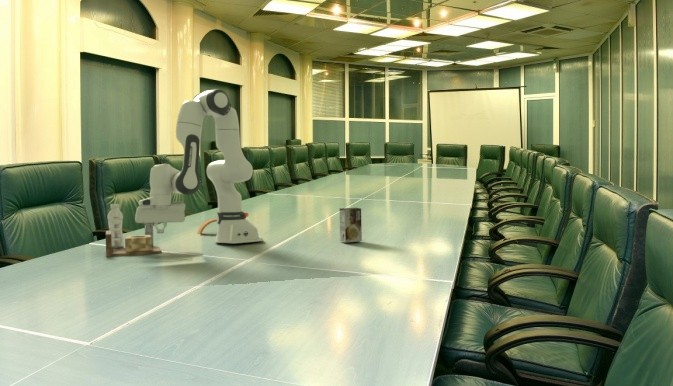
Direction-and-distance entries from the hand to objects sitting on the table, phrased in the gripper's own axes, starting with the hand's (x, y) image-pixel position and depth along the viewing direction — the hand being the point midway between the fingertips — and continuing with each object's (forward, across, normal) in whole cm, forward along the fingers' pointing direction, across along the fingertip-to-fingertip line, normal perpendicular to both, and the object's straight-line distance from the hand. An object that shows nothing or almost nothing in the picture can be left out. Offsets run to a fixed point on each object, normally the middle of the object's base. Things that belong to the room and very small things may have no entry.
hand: (160, 233), depth 212 cm
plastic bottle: (+8, +17, -18) cm, 26 cm away
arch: (+7, -32, -38) cm, 49 cm away
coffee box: (+6, -86, +11) cm, 87 cm away
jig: (+8, +11, 0) cm, 13 cm away
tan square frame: (+7, +9, 0) cm, 11 cm away
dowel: (+8, +4, -14) cm, 16 cm away
